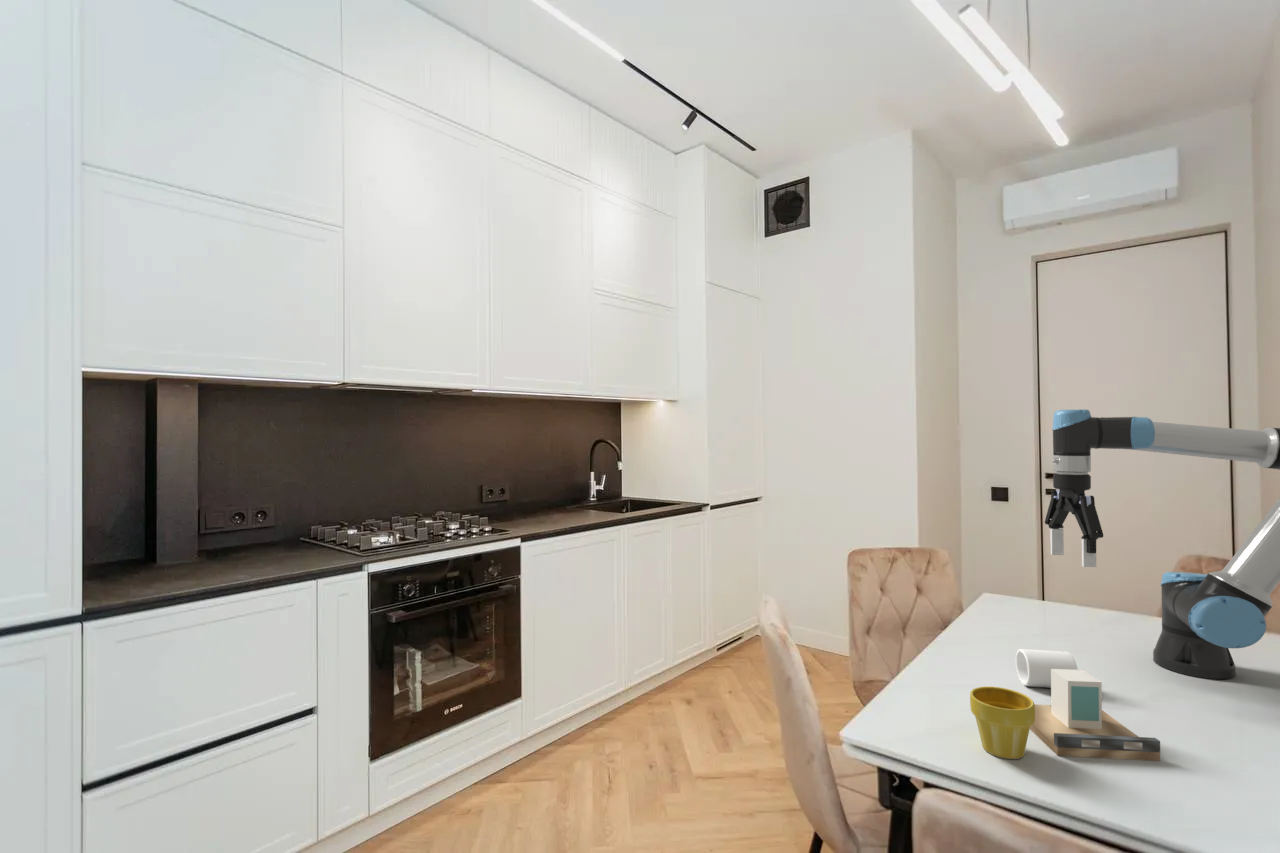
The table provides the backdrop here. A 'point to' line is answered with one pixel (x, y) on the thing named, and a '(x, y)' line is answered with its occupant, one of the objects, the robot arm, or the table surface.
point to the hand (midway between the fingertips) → (1072, 560)
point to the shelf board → (1093, 738)
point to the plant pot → (1002, 720)
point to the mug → (1041, 666)
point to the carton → (1076, 698)
